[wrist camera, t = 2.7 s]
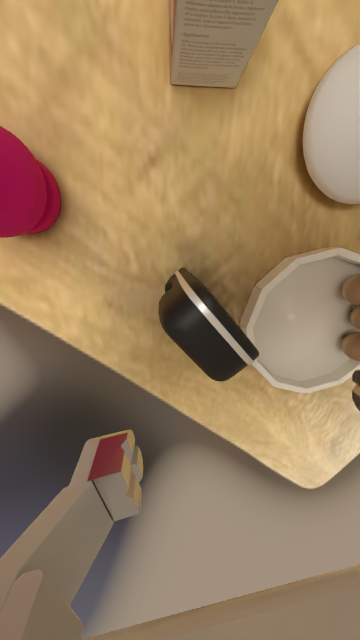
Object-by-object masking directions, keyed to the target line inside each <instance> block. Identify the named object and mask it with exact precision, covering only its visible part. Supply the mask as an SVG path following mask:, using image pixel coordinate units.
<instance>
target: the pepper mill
mask: <svg viewBox="0 0 360 640" xmlns="http://www.w3.org/2000/svg"><path fill="white" fill-rule="evenodd" d="M60 207H61V197H60V192H59V188H58V185H57V183H56V181H55V179H54V177H53V176H52V174H51V173H50V172H49V170H48V169H47V168H46V167H45V166H44V165H43V164H42V163H40V162H39V161H38V160H36V159H35V157H34V156H33V155H32V153H31V152H30V151H29V149H28V148H27V147H26V146H25V145H24V144H23V143H22V142H21V141H20V140H19V139H18V138H17V137H16V136H15V135H13V134H12V133H11V132H9V131H8V130H6V129H4V128H3V127H1V126H0V237H14V236H18V235H21V234H23V233H38V232H42V231H44V230H46V229H48V228H49V227H50V226H51V225H52V224H53V223H54V222H55V221H56V219H57V217H58V215H59V212H60Z"/></svg>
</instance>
